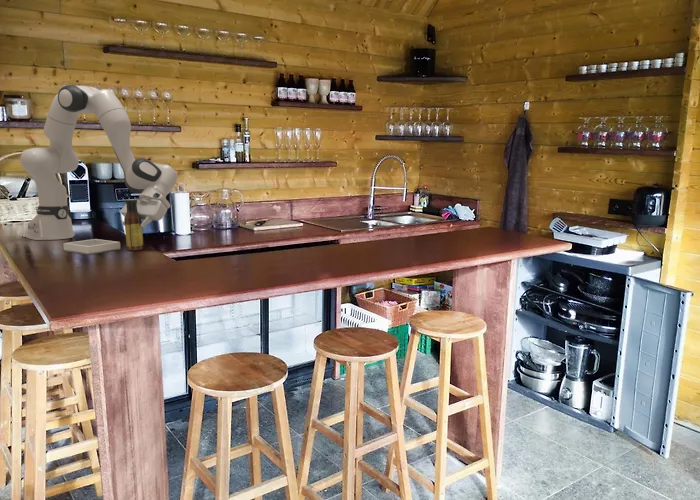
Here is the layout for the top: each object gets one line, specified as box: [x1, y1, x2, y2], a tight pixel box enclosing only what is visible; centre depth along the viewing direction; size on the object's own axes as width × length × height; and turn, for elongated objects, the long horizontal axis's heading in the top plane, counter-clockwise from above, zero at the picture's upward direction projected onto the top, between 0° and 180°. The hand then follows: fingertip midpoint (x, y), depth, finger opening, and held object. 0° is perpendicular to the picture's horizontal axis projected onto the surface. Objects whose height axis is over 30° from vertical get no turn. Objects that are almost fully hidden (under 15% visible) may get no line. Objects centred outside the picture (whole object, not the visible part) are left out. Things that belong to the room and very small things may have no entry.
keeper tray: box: [62, 238, 121, 256], centre depth 225 cm, size 14×14×3 cm
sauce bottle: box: [124, 198, 144, 252], centre depth 227 cm, size 7×6×20 cm
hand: (132, 225), depth 226 cm, fingers open, 8 cm apart
